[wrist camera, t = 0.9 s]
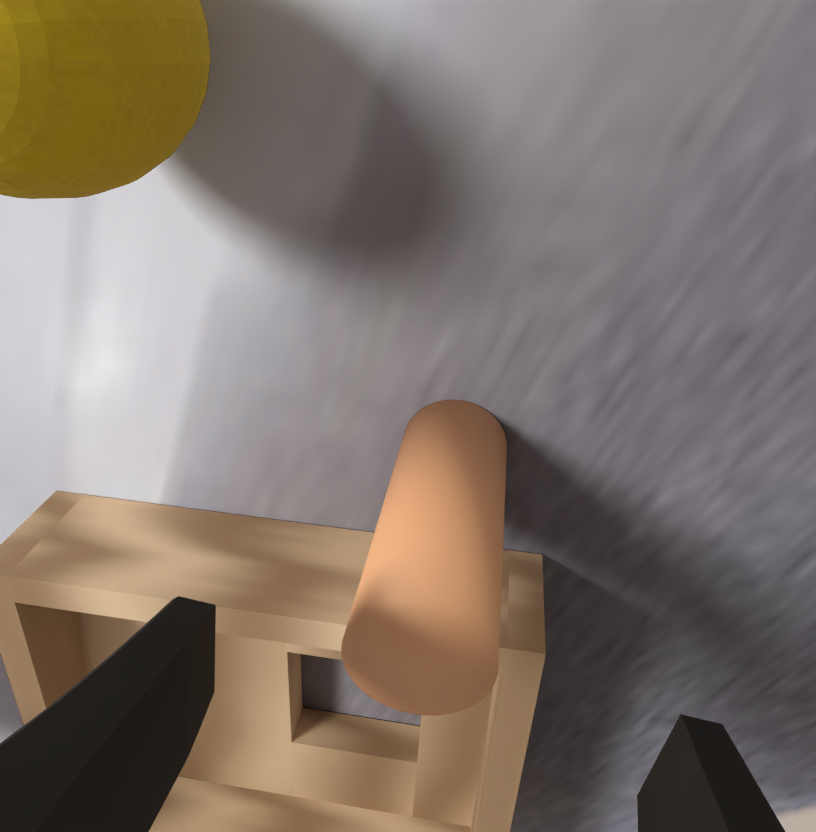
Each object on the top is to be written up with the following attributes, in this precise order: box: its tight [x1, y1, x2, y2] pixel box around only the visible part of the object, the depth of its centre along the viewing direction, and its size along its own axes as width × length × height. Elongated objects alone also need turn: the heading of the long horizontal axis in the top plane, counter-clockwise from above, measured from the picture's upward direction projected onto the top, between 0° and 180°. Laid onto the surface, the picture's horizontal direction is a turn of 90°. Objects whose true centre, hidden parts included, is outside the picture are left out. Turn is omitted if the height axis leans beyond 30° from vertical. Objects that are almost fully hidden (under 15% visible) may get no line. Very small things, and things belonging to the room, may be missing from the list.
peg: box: [341, 400, 507, 716], centre depth 17 cm, size 3×3×8 cm
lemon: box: [0, 0, 211, 199], centre depth 13 cm, size 6×6×8 cm
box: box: [0, 491, 546, 832], centre depth 24 cm, size 16×13×4 cm
